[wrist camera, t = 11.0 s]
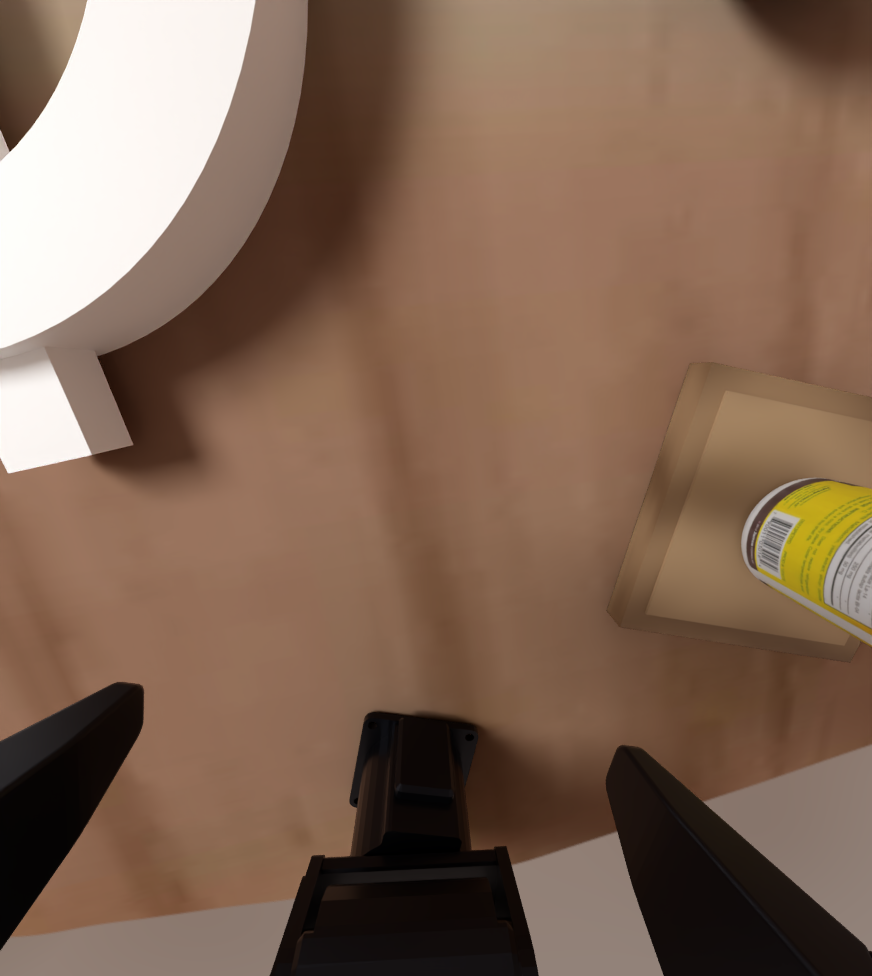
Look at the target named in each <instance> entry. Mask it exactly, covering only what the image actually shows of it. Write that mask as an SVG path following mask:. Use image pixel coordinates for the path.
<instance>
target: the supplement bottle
mask: <svg viewBox="0 0 872 976" xmlns="http://www.w3.org/2000/svg"><path fill="white" fill-rule="evenodd" d="M741 549H742V555H743V558H744V561H745V563H746V565H747V567H748V569H749V570H750V572H751V573H752V574H753V575H754V576H755V577H756V578H757V579H758V580H760V581H761V582H762V583H764V584H766V585H767V586H769V587H770V588H772V589H774V590H775V591H777V592H779V593H780V594H782V595H784V596H785V597H787V598H789V599H791V600H792V601H794V602H796V603H797V604H799V605H801V606H802V607H804V608H806V609H808V610H809V611H811V612H813V613H814V614H816V615H818V616H819V617H821V618H823V619H824V620H826V621H828V622H829V623H831V624H833V625H835V626H836V627H838V628H840V629H841V630H843V631H845V632H847V633H848V634H850V635H852V636H853V637H855V638H857V639H858V640H860V641H862V642H863V643H865V644H867V645H868V646H870V647H872V489H870V488H866V487H863V486H858V485H854V484H850V483H845V482H840V481H836V480H831V479H826V478H804V479H799V480H795V481H792V482H789V483H786V484H784V485H782V486H780V487H778V488H776V489H775V490H773V491H772V492H770V493H769V494H767V495H766V496H765V497H764V498H763V499H762V500H761V501H760V502H759V503H758V504H757V505H756V506H755V508H754V509H753V510H752V512H751V513H750V515H749V517H748V519H747V521H746V523H745V525H744V529H743V532H742V539H741Z"/></svg>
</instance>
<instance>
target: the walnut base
mask: <svg viewBox="0 0 872 976" xmlns="http://www.w3.org/2000/svg"><path fill="white" fill-rule="evenodd" d="M804 478H826V479H831V480H836V481H840V482H845V483H850V484H854V485H858V486H863V487H866V488H870V489H872V397H868V396H863V395H859V394H854V393H850V392H845V391H841V390H836V389H832V388H827V387H822V386H818V385H813V384H809V383H804V382H800V381H795V380H791V379H786V378H782V377H777V376H772V375H768V374H763V373H759V372H754V371H750V370H745V369H741V368H736V367H732V366H727V365H722V364H718V363H713V362H708V363H690V365H689V368H688V371H687V374H686V377H685V380H684V383H683V386H682V389H681V392H680V395H679V398H678V401H677V404H676V407H675V410H674V412H673V415H672V418H671V421H670V424H669V427H668V430H667V433H666V436H665V439H664V442H663V445H662V448H661V451H660V454H659V457H658V460H657V463H656V466H655V469H654V472H653V475H652V478H651V481H650V484H649V487H648V490H647V493H646V496H645V499H644V502H643V505H642V508H641V511H640V514H639V516H638V519H637V522H636V525H635V528H634V531H633V534H632V537H631V540H630V543H629V546H628V549H627V552H626V555H625V558H624V561H623V564H622V567H621V570H620V573H619V576H618V579H617V582H616V585H615V588H614V591H613V594H612V597H611V600H610V603H609V606H608V609H607V612H608V613H609V614H610V616H611V617H612V618H613V619H614V621H615V622H616V623H617V624H618V626H619V627H622V628H628V629H635V630H641V631H647V632H654V633H660V634H667V635H673V636H680V637H686V638H693V639H699V640H706V641H712V642H719V643H725V644H732V645H738V646H745V647H751V648H758V649H764V650H771V651H777V652H784V653H790V654H797V655H803V656H810V657H816V658H823V659H829V660H836V661H842V662H849V663H850V662H851V660H852V658H853V656H854V654H855V652H856V650H857V649H858V647H859V645H860V643H861V641H860V640H858V639H857V638H855V637H853V636H852V635H850V634H848V633H847V632H845V631H843V630H841V629H840V628H838V627H836V626H835V625H833V624H831V623H829V622H828V621H826V620H824V619H823V618H821V617H819V616H818V615H816V614H814V613H813V612H811V611H809V610H808V609H806V608H804V607H802V606H801V605H799V604H797V603H796V602H794V601H792V600H791V599H789V598H787V597H785V596H784V595H782V594H780V593H779V592H777V591H775V590H774V589H772V588H770V587H769V586H767V585H766V584H764V583H762V582H761V581H760V580H758V579H757V578H756V577H755V576H754V575H753V574H752V573H751V572H750V570H749V569H748V567H747V565H746V563H745V561H744V558H743V555H742V549H741V539H742V532H743V529H744V525H745V523H746V521H747V519H748V517H749V515H750V513H751V512H752V510H753V509H754V508H755V506H756V505H757V504H758V503H759V502H760V501H761V500H762V499H763V498H764V497H765V496H766V495H767V494H769V493H770V492H772V491H773V490H775V489H776V488H778V487H780V486H782V485H784V484H786V483H789V482H792V481H795V480H799V479H804Z"/></svg>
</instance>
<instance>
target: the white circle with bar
mask: <svg viewBox="0 0 872 976" xmlns="http://www.w3.org/2000/svg"><path fill="white" fill-rule="evenodd" d="M307 20H308V0H87V5H86V9H85V13H84V18H83V21H82V24H81V27H80V31H79V34H78V37H77V41H76V44H75V46H74V49H73V52H72V54H71V57H70V59H69V62H68V65H67V67H66V69H65V71H64V73H63V75H62V78H61V80H60V82H59V84H58V86H57V88H56V90H55V92H54V93H53V95H52V97H51V99H50V100H49V102H48V104H47V105H46V107H45V109H44V110H43V112H42V113H41V115H40V116H39V118H38V119H37V120H36V122H35V123H34V125H33V126H32V128H31V129H30V130H29V131H28V132H27V134H26V135H25V136H24V137H23V138H22V140H21V141H20V142H19V143H18V144H17V146H16V147H15V148H14V149H13V150H12V151H10V152H9V149H8V147H7V145H6V142H5V140H4V137H3V135H2V132H1V130H0V458H1V460H2V462H3V464H4V466H5V468H6V470H7V472H8V473H12V472H17V471H21V470H26V469H30V468H35V467H40V466H44V465H49V464H53V463H58V462H62V461H67V460H71V459H76V458H80V457H85V456H89V455H94V454H98V453H102V452H106V451H110V450H115V449H119V448H123V447H127V446H131V445H133V443H132V440H131V438H130V435H129V433H128V431H127V428H126V426H125V423H124V421H123V418H122V416H121V414H120V411H119V409H118V406H117V404H116V401H115V399H114V397H113V394H112V392H111V389H110V387H109V385H108V382H107V380H106V377H105V375H104V372H103V370H102V368H101V365H100V363H99V360H98V358H97V356H100V355H103V354H106V353H109V352H111V351H114V350H116V349H119V348H121V347H124V346H126V345H128V344H130V343H132V342H134V341H136V340H138V339H140V338H142V337H144V336H146V335H148V334H150V333H151V332H153V331H155V330H156V329H158V328H160V327H161V326H163V325H164V324H166V323H167V322H169V321H170V320H171V319H173V318H174V317H176V316H177V315H178V314H180V313H181V312H182V311H184V310H185V309H186V308H187V307H188V306H190V305H191V304H192V303H193V302H194V301H195V300H197V299H198V298H199V297H200V296H201V295H202V294H203V293H204V292H205V291H206V290H207V289H208V288H209V287H210V286H211V285H212V284H213V283H214V282H215V281H216V280H217V278H218V277H219V276H220V275H221V274H222V272H223V271H224V270H225V269H226V268H227V267H228V265H229V264H230V263H231V262H232V260H233V259H234V257H235V256H236V255H237V253H238V252H239V250H240V249H241V248H242V246H243V245H244V243H245V242H246V240H247V238H248V237H249V235H250V234H251V232H252V230H253V229H254V227H255V225H256V224H257V222H258V220H259V218H260V216H261V214H262V212H263V210H264V208H265V206H266V204H267V202H268V200H269V198H270V195H271V193H272V191H273V188H274V186H275V184H276V181H277V179H278V176H279V174H280V171H281V168H282V165H283V162H284V159H285V156H286V153H287V150H288V147H289V143H290V139H291V135H292V132H293V128H294V124H295V120H296V115H297V110H298V105H299V100H300V95H301V88H302V81H303V73H304V66H305V55H306V42H307Z"/></svg>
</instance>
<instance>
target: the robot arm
mask: <svg viewBox="0 0 872 976" xmlns="http://www.w3.org/2000/svg"><path fill="white" fill-rule="evenodd" d="M143 718H144V689H143V687H142V685H140V684H135V683H127V682H116V683H114V684H111V685H109V686H107V687H105V688H103V689H102V690H100V691H98V692H96V693H94V694H92V695H90V696H88V697H86V698H84V699H82V700H80V701H78V702H76V703H74V704H72V705H70V706H68V707H66V708H64V709H62V710H61V711H59V712H57V713H55V714H53V715H51V716H49V717H47V718H45V719H43V720H41V721H39V722H37V723H35V724H33V725H31V726H29V727H27V728H25V729H23V730H21V731H20V732H18V733H16V734H14V735H12V736H10V737H8V738H6V739H4V740H2V741H0V950H1V949H2V948H3V946H4V945H5V943H6V942H7V940H8V939H9V938H10V936H11V935H12V933H13V932H14V930H15V929H16V928H17V926H18V925H19V923H20V922H21V920H22V919H23V917H24V916H25V915H26V913H27V912H28V910H29V909H30V907H31V906H32V905H33V903H34V902H35V900H36V899H37V897H38V896H39V895H40V893H41V892H42V890H43V889H44V887H45V886H46V884H47V883H48V882H49V880H50V879H51V877H52V876H53V874H54V873H55V872H56V870H57V869H58V867H59V866H60V864H61V863H62V861H63V860H64V859H65V857H66V856H67V854H68V853H69V851H70V850H71V848H72V847H73V845H74V844H75V842H76V841H77V839H78V838H79V836H80V835H81V833H82V832H83V830H84V828H85V827H86V825H87V823H88V822H89V820H90V819H91V817H92V815H93V813H94V812H95V810H96V808H97V807H98V805H99V803H100V801H101V800H102V798H103V796H104V795H105V793H106V791H107V789H108V788H109V786H110V784H111V782H112V781H113V779H114V777H115V776H116V774H117V772H118V770H119V769H120V767H121V765H122V764H123V762H124V760H125V758H126V757H127V755H128V753H129V752H130V750H131V748H132V746H133V745H134V743H135V741H136V740H137V738H138V736H139V734H140V732H141V729H142V726H143ZM370 722H376V723H370ZM467 734H471V735H467ZM477 741H478V732H477V728H476V727H475V726H474V725H470V724H462V723H454V722H447V721H439V720H431V719H423V718H415V717H407V716H399V715H392V714H384V713H376V712H371V713H368V714H367V715H366V716H365V718H364V724H363V729H362V734H361V740H360V745H359V751H358V756H357V762H356V767H355V772H354V778H353V783H352V789H351V794H350V804H351V805H352V806H353V807H356V808H357V812H356V820H355V827H354V834H353V841H352V848H351V855H350V856H347V857H327V858H325V855H314V856H312V857H311V860H310V863H309V866H308V869H307V872H306V876H303V878H302V880H301V883H300V886H299V889H298V892H297V895H296V898H295V901H294V904H293V908H292V911H291V914H290V917H289V920H288V923H287V926H286V929H285V932H284V935H283V938H282V941H281V944H280V947H279V950H278V953H277V956H276V959H275V962H274V965H273V968H272V971H271V974H270V976H539V975H538V969H537V964H536V960H535V954H534V949H533V945H532V941H531V937H530V933H529V929H528V925H527V921H526V918H525V914H524V910H523V907H522V903H521V899H520V895H519V892H518V888H517V885H516V881H515V877H514V873H513V869H512V866H511V862H510V858H509V854H508V851H507V847H506V846H500V847H494V849H492V850H472V849H471V840H470V831H469V822H468V813H467V805H466V796H465V785H466V781H467V778H468V774H469V770H470V766H471V763H472V759H473V755H474V752H475V748H476V744H477ZM606 790H607V794H608V798H609V801H610V805H611V809H612V813H613V816H614V820H615V824H616V828H617V831H618V835H619V839H620V843H621V846H622V850H623V854H624V858H625V861H626V865H627V868H628V872H629V876H630V879H631V882H632V886H633V889H634V892H635V895H636V898H637V901H638V904H639V907H640V910H641V912H642V915H643V918H644V921H645V924H646V926H647V929H648V932H649V935H650V938H651V941H652V944H653V946H654V949H655V952H656V955H657V958H658V961H659V963H660V966H661V969H662V972H663V975H664V976H872V951H868V949H867V947H866V946H865V945H864V944H863V943H862V942H861V941H860V940H859V939H857V938H856V937H855V936H854V935H853V934H852V933H851V932H850V931H848V930H847V929H846V928H845V927H844V926H843V925H842V924H841V923H839V922H838V921H837V920H836V919H835V918H834V917H833V916H831V915H830V914H829V913H828V912H827V911H826V910H825V909H824V908H822V907H821V906H820V905H819V904H818V903H817V902H815V901H814V900H813V899H812V898H811V897H810V896H809V895H808V894H807V893H805V892H804V891H803V890H802V889H801V888H800V887H799V886H797V885H796V884H795V883H794V882H793V881H792V880H791V879H790V878H788V877H787V876H786V875H785V874H784V873H783V872H782V871H780V870H779V869H778V868H777V867H776V866H775V865H774V864H772V863H771V862H770V861H769V860H768V859H767V858H766V857H765V856H763V855H762V854H761V853H760V852H759V851H758V850H757V849H755V848H754V847H753V846H752V845H751V844H750V843H749V842H747V841H746V840H745V839H744V838H743V837H742V836H741V835H739V834H738V833H737V832H736V831H735V830H734V829H733V828H732V827H730V826H729V825H728V824H727V823H726V822H725V821H724V820H723V819H721V818H720V817H719V816H718V815H717V814H716V813H715V812H713V811H712V810H711V809H710V808H709V807H708V806H707V805H706V804H704V803H703V802H702V801H701V800H700V799H699V798H698V797H696V796H695V795H694V794H693V793H692V792H691V791H690V790H689V789H687V788H686V787H685V786H684V785H683V784H682V783H681V782H679V781H678V780H677V779H676V778H675V777H674V776H673V775H672V774H670V773H669V772H668V771H667V770H666V769H665V768H664V767H662V766H661V765H660V764H659V763H658V762H657V761H656V760H655V759H653V758H652V757H651V756H650V755H649V754H648V753H647V752H645V751H644V750H643V749H641V748H639V747H634V746H626V745H621V746H619V747H618V748H617V750H616V752H615V755H614V757H613V760H612V763H611V765H610V768H609V770H608V773H607V776H606Z"/></svg>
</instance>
